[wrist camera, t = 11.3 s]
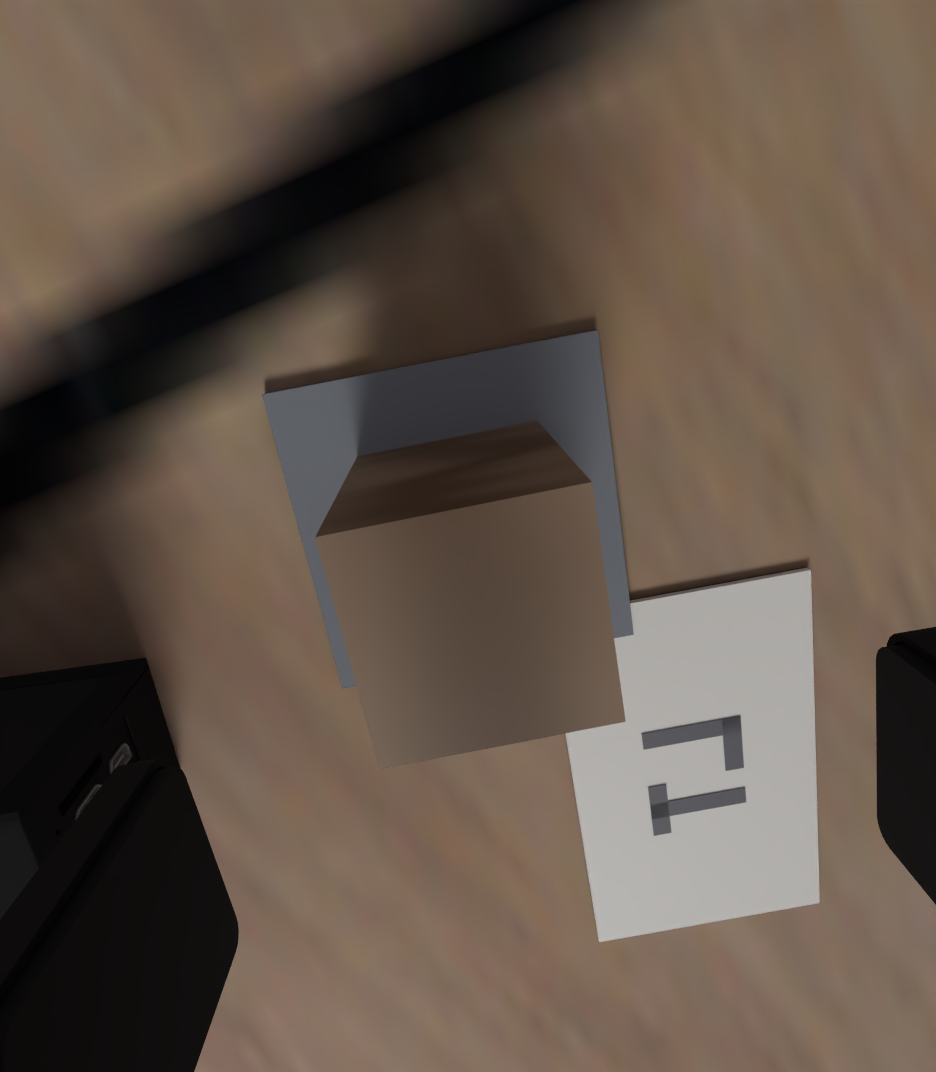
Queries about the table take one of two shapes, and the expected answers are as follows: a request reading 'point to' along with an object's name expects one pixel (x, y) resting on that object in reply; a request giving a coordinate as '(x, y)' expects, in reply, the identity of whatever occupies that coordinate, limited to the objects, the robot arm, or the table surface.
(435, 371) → the rubber mat
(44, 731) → the digital camera
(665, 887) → the card
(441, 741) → the walnut block
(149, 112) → the table surface
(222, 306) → the table surface
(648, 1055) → the table surface
